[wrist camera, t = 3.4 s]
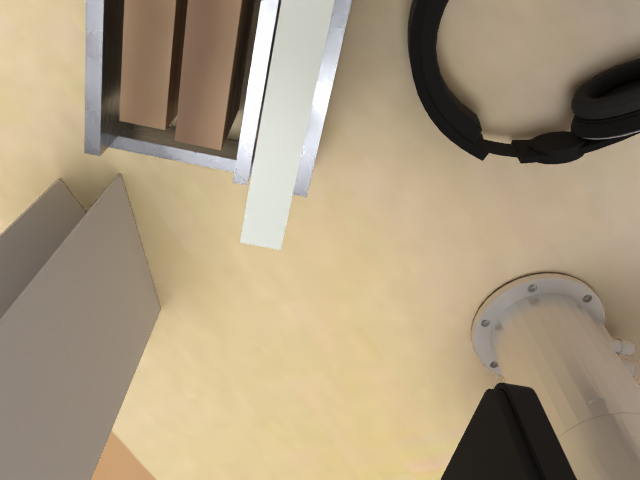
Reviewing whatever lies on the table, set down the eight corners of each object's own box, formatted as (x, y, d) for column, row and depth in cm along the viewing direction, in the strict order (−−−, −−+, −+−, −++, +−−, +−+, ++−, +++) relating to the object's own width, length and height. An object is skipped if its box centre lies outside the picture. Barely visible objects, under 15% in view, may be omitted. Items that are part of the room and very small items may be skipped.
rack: (363, -93, 37) (374, -98, 30) (305, 167, 46) (303, 209, 39) (133, -153, 35) (88, -173, 28) (121, 129, 44) (84, 166, 37)
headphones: (711, 168, 37) (414, 185, 40) (662, 131, 44) (410, 148, 47) (790, -147, 29) (405, -95, 32) (714, -133, 36) (402, -91, 39)
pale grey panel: (328, -41, 38) (337, -15, 21) (295, 123, 44) (280, 249, 27) (300, -48, 38) (286, -28, 21) (270, 117, 44) (239, 242, 26)
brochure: (56, 179, 46) (-279, 501, 20) (120, 173, 46) (-135, 491, 20) (105, 313, 53) (-98, 682, 27) (161, 309, 53) (9, 676, 27)
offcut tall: (263, -58, 38) (249, -54, 30) (238, 110, 44) (220, 150, 36) (220, -68, 38) (194, -67, 30) (200, 102, 43) (174, 140, 35)
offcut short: (205, -72, 37) (182, -72, 31) (188, 99, 43) (165, 130, 37) (161, -83, 37) (128, -85, 31) (149, 91, 43) (119, 120, 36)
